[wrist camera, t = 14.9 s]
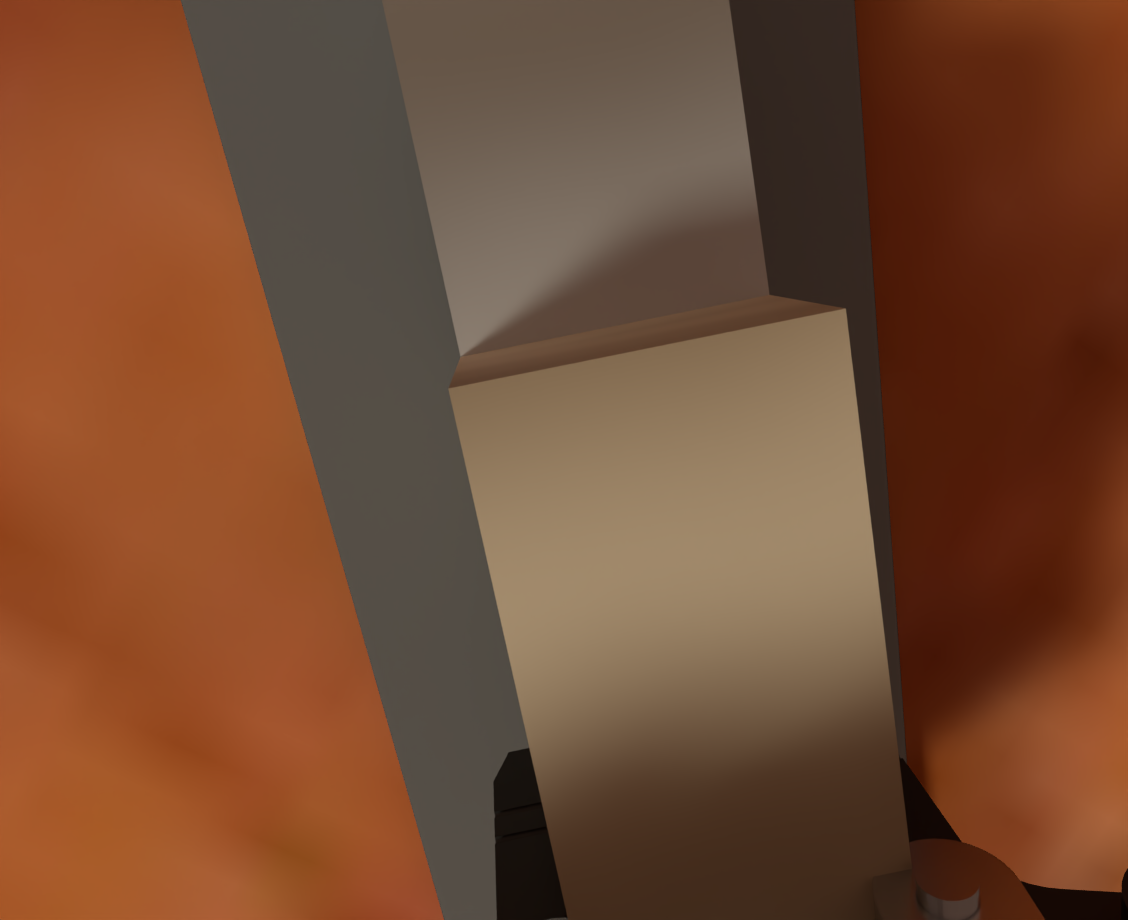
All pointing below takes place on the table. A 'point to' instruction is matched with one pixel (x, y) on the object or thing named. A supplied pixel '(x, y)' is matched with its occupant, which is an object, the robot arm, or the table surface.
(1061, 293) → the table surface
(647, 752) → the stepped beige bar
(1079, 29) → the table surface
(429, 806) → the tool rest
